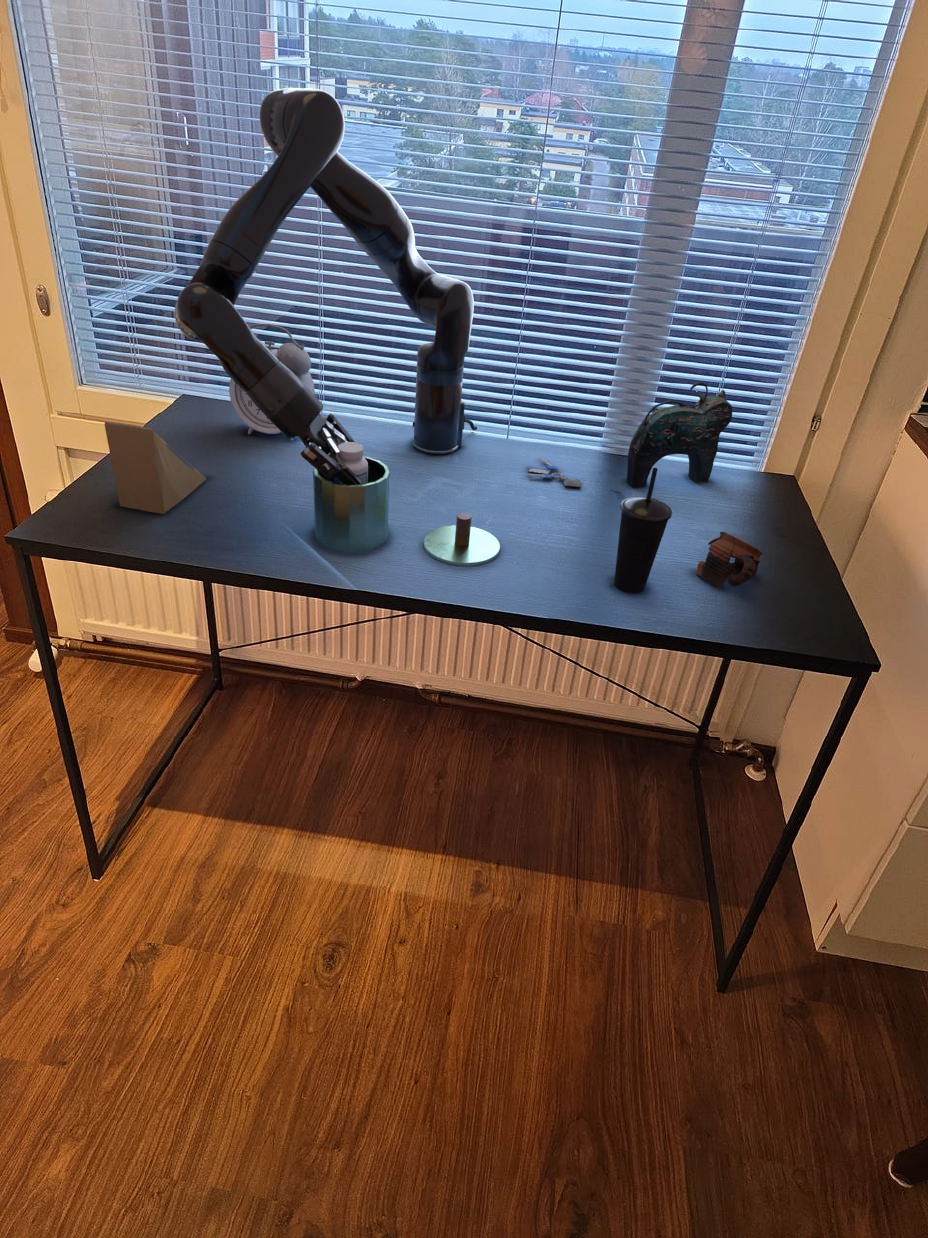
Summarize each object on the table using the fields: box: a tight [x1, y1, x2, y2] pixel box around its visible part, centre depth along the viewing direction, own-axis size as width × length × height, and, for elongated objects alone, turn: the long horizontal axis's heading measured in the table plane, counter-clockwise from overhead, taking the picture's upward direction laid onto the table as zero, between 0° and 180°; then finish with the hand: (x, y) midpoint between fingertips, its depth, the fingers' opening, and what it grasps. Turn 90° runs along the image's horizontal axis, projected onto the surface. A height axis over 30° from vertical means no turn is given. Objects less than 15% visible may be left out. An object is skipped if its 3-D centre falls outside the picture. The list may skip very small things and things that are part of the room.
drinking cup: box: [613, 467, 673, 594], centre depth 125 cm, size 8×8×20 cm
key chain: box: [528, 457, 582, 488], centre depth 162 cm, size 14×8×1 cm, turn 34°
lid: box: [423, 512, 501, 567], centre depth 134 cm, size 13×13×6 cm
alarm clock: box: [228, 323, 316, 441], centre depth 164 cm, size 16×9×22 cm, turn 81°
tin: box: [312, 455, 391, 553], centre depth 133 cm, size 12×12×12 cm
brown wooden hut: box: [695, 531, 764, 589], centre depth 133 cm, size 12×10×8 cm
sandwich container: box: [103, 421, 208, 515], centre depth 140 cm, size 9×15×15 cm, turn 167°
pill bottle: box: [334, 442, 368, 484], centre depth 130 cm, size 6×5×10 cm
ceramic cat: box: [626, 381, 734, 488], centre depth 159 cm, size 20×6×20 cm, turn 108°
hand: (362, 480), depth 131 cm, fingers closed on pill bottle, 5 cm apart
